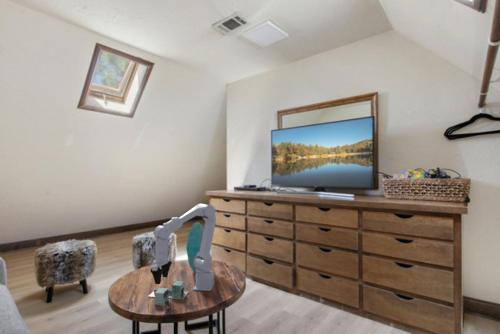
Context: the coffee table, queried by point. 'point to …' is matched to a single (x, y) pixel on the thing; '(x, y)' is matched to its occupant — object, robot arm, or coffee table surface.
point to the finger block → (161, 296)
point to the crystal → (194, 243)
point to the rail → (174, 291)
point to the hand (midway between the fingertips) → (161, 280)
